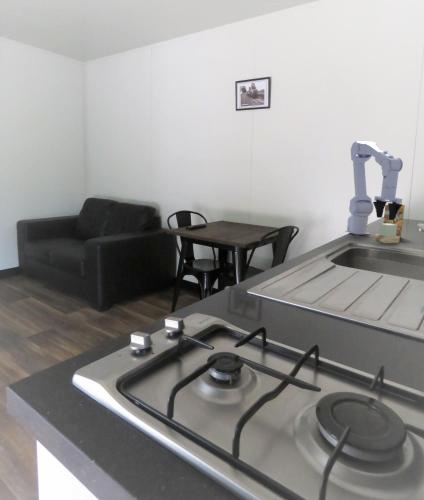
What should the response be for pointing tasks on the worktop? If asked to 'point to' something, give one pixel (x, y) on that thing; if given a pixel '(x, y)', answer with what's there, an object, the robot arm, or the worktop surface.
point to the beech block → (387, 239)
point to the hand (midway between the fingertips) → (385, 218)
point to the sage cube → (387, 230)
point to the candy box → (397, 220)
